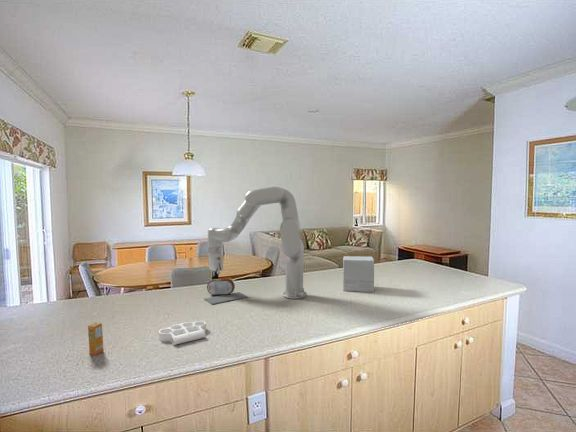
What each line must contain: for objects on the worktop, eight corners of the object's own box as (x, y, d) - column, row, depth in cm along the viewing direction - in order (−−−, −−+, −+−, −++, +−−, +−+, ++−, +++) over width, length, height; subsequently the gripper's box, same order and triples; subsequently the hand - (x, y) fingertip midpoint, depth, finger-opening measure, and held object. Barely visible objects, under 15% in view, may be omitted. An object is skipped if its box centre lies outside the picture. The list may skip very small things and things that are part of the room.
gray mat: (247, 297, 173) (247, 296, 173) (212, 304, 161) (212, 303, 161) (239, 293, 181) (239, 292, 181) (204, 299, 169) (204, 298, 169)
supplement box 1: (88, 354, 111) (86, 325, 110) (97, 349, 114) (96, 321, 113) (95, 355, 109) (94, 326, 109) (104, 351, 113) (103, 322, 112)
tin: (235, 293, 178) (234, 278, 178) (233, 294, 175) (232, 279, 175) (208, 294, 179) (207, 279, 179) (206, 295, 176) (205, 280, 176)
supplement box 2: (372, 286, 194) (372, 256, 194) (374, 292, 181) (374, 260, 180) (343, 285, 198) (343, 255, 197) (342, 291, 184) (343, 259, 183)
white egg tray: (164, 350, 114) (155, 335, 126) (213, 337, 124) (200, 325, 136) (164, 340, 114) (155, 327, 126) (213, 329, 124) (200, 317, 136)
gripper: (226, 251, 177) (227, 284, 178) (215, 247, 190) (216, 279, 191) (213, 252, 173) (214, 286, 174) (203, 249, 185) (203, 280, 186)
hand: (215, 282), depth 182 cm, fingers closed
